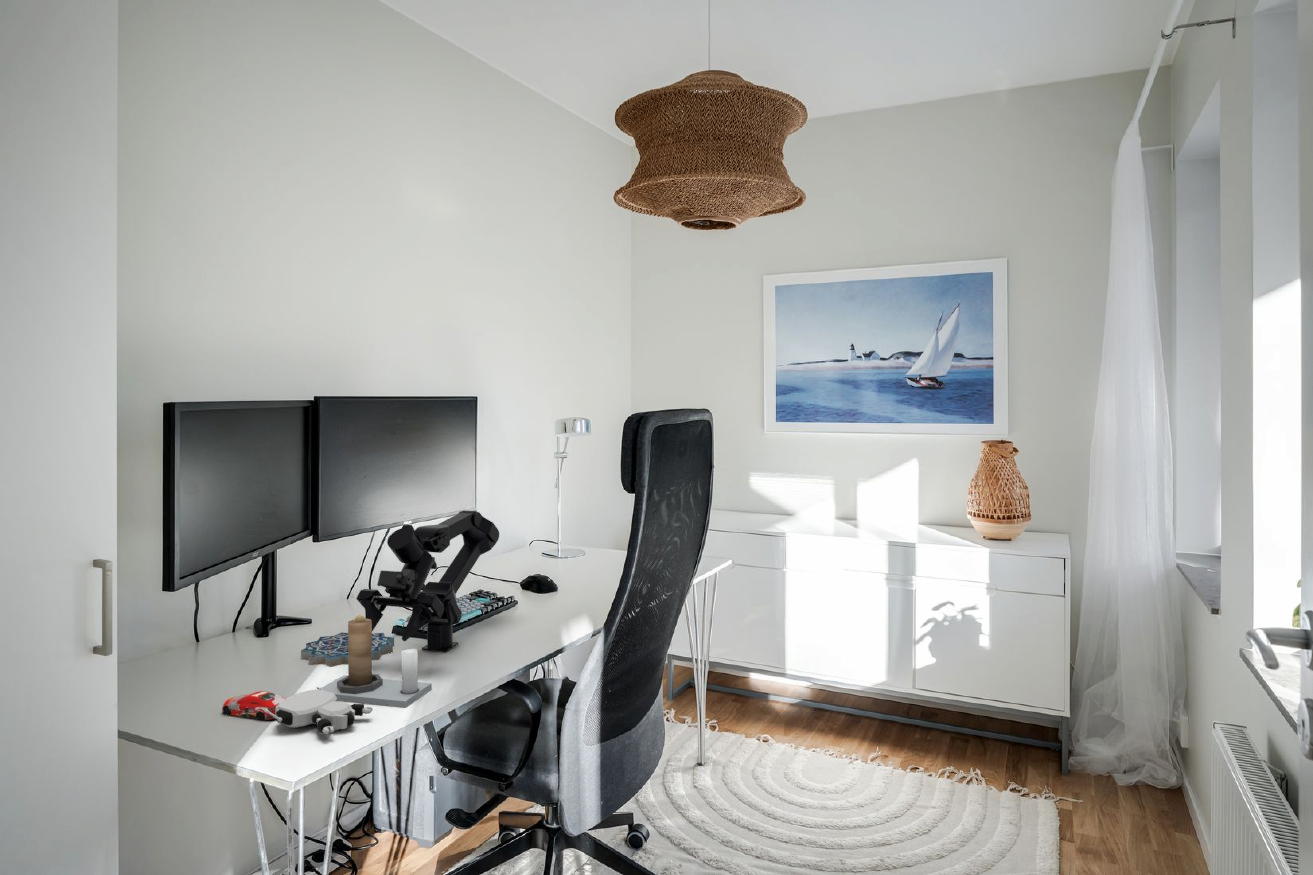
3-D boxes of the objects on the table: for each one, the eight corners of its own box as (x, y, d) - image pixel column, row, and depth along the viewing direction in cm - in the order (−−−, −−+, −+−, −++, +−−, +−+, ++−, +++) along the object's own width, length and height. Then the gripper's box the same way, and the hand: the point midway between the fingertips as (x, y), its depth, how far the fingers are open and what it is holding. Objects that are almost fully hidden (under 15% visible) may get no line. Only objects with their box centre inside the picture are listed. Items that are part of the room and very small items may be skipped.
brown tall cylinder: (352, 681, 158) (351, 612, 158) (374, 681, 159) (374, 612, 158) (345, 689, 154) (344, 618, 153) (368, 689, 154) (367, 618, 154)
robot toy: (376, 723, 144) (314, 705, 149) (378, 699, 143) (315, 682, 149) (326, 750, 132) (260, 729, 138) (327, 724, 132) (261, 704, 137)
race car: (215, 715, 145) (215, 694, 145) (240, 704, 150) (239, 684, 150) (271, 724, 141) (271, 702, 141) (294, 713, 146) (294, 692, 146)
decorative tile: (369, 635, 196) (369, 626, 196) (409, 653, 182) (409, 643, 182) (287, 653, 181) (287, 643, 181) (324, 674, 168) (323, 663, 167)
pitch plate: (344, 680, 163) (343, 637, 162) (431, 688, 158) (431, 644, 158) (313, 698, 153) (312, 651, 153) (405, 707, 149) (405, 659, 148)
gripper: (361, 552, 171) (327, 615, 161) (436, 557, 166) (406, 622, 155) (383, 580, 179) (353, 641, 168) (456, 585, 173) (429, 649, 163)
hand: (384, 638), depth 164 cm, fingers open, 9 cm apart
